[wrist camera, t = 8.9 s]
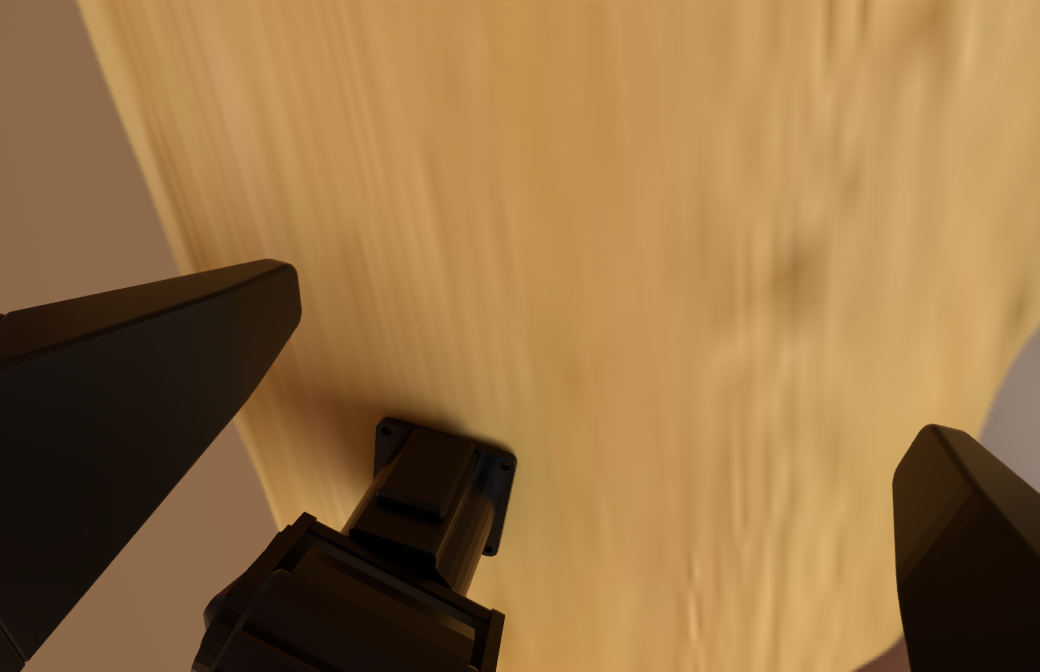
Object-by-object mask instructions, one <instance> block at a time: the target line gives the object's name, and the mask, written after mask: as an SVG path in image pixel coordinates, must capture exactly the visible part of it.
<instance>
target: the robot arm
mask: <svg viewBox="0 0 1040 672" xmlns="http://www.w3.org/2000/svg"><path fill="white" fill-rule="evenodd" d="M301 314H302V307H301V299H300V290H299V282H298V274H297V271H296V269H295V267H294V266H293V265H292V264H289V263H286V262H282V261H278V260H274V259H262V260H257V261H253V262H248V263H243V264H238V265H233V266H228V267H224V268H219V269H214V270H209V271H204V272H200V273H195V274H190V275H185V276H180V277H175V278H171V279H166V280H161V281H156V282H152V283H147V284H142V285H137V286H132V287H127V288H123V289H118V290H113V291H108V292H103V293H99V294H94V295H89V296H84V297H80V298H75V299H70V300H65V301H60V302H55V303H50V304H45V305H41V306H36V307H31V308H26V309H21V310H17V311H12V312H9V313H7V314H6V315H4V314H0V672H20V671H21V670H22V669H23V667H24V666H25V662H27V661H29V660H30V659H31V657H32V656H33V655H34V654H35V653H36V651H37V650H38V649H39V648H40V647H41V646H42V644H43V643H44V642H45V641H46V639H47V638H48V637H49V636H50V635H51V634H52V632H53V631H54V630H55V629H56V628H57V626H58V625H59V624H60V623H61V622H62V621H63V619H64V618H65V617H66V615H68V613H69V612H70V611H71V610H72V609H73V607H74V606H75V605H76V604H77V603H78V601H79V600H80V599H81V598H82V597H83V596H84V594H85V593H86V592H87V591H88V590H89V588H90V587H91V586H92V585H93V584H94V582H95V581H96V580H97V579H98V578H99V577H100V575H101V574H102V573H103V572H104V571H105V569H106V568H107V567H108V566H109V565H110V563H111V562H112V561H113V560H114V559H115V557H116V556H117V555H118V554H119V553H120V551H121V550H122V549H123V548H124V547H125V546H126V544H127V543H128V542H129V541H130V540H131V538H132V537H133V536H134V535H135V534H136V532H137V531H138V530H139V529H140V528H141V526H142V525H143V524H144V523H145V522H146V521H147V519H148V518H149V517H150V516H151V515H152V513H153V512H154V511H155V510H156V508H157V507H158V506H159V505H160V504H161V503H162V501H163V500H164V499H165V498H166V497H167V496H168V494H169V493H170V492H171V491H172V490H173V488H174V487H175V486H176V485H177V484H178V482H179V481H180V480H181V479H182V478H183V476H184V475H185V474H186V473H187V472H188V470H189V469H190V468H191V467H192V466H193V465H194V463H195V462H196V461H197V460H198V459H199V457H200V456H201V455H202V454H203V453H204V451H205V450H206V449H207V448H208V447H209V446H210V444H211V443H212V442H213V441H214V439H215V438H216V437H217V436H218V435H219V434H220V432H221V431H222V430H223V429H224V428H225V427H226V425H227V424H228V423H229V422H230V421H231V419H232V418H233V417H234V416H235V415H236V413H237V412H238V411H239V410H240V409H241V407H242V406H243V405H244V404H245V402H246V401H247V400H248V399H249V397H250V396H251V394H252V393H253V392H254V390H255V389H256V387H257V386H258V385H259V383H260V382H261V380H262V379H263V377H264V376H265V374H266V373H267V371H268V370H269V368H270V367H271V365H272V364H273V362H274V361H275V359H276V358H277V356H278V355H279V353H280V352H281V350H282V349H283V347H284V346H285V344H286V343H287V341H288V340H289V338H290V337H291V335H292V334H293V332H294V331H295V329H296V328H297V326H298V324H299V322H300V319H301ZM386 427H388V428H390V430H389V429H387V428H386ZM502 462H506V463H508V464H509V465H505V464H504V463H502ZM516 468H517V459H516V457H515V456H514V455H513V454H512V453H509V452H507V451H503V450H500V449H497V448H493V447H490V446H486V445H483V444H480V443H476V442H473V441H469V440H466V439H463V438H459V437H456V436H452V435H449V434H446V433H442V432H439V431H435V430H432V429H429V428H425V427H422V426H418V425H415V424H412V423H408V422H405V421H401V420H398V419H395V418H391V417H384V418H382V419H381V420H380V422H379V423H378V424H377V427H376V439H375V460H374V480H373V482H372V484H371V485H370V487H369V488H368V490H367V491H366V493H365V494H364V496H363V498H362V499H361V501H360V502H359V504H358V505H357V507H356V508H355V510H354V512H353V513H352V515H351V516H350V518H349V519H348V521H347V522H346V524H345V526H344V527H343V529H342V530H341V532H338V531H336V530H334V529H332V528H330V527H328V526H326V525H324V524H322V523H320V522H318V521H316V520H317V518H316V517H314V516H312V515H310V514H308V513H306V512H304V513H303V514H302V515H301V516H300V517H299V518H298V519H297V520H296V521H295V523H294V524H293V525H292V526H291V525H287V526H286V528H285V529H284V530H283V531H282V532H278V534H277V535H276V536H275V537H274V539H273V540H272V541H271V543H270V544H269V545H268V547H267V548H266V550H265V551H264V552H263V553H262V554H261V555H260V556H259V557H258V558H257V560H256V561H255V562H254V563H253V564H252V565H251V566H250V567H249V568H248V570H247V571H246V572H244V573H243V574H242V575H241V576H240V577H238V578H237V579H236V580H235V581H233V582H232V583H231V584H229V585H228V586H227V587H226V588H225V589H223V590H222V591H221V592H220V593H219V594H217V595H216V596H215V597H214V598H213V599H212V600H211V601H210V603H209V604H208V606H207V607H206V609H205V611H204V613H203V616H204V623H205V629H206V632H205V635H204V637H203V639H202V641H201V645H200V649H199V651H198V653H197V655H196V657H195V660H194V662H193V665H192V668H191V672H496V667H497V661H498V655H499V649H500V643H501V637H502V631H503V625H504V619H505V614H503V613H501V612H499V611H497V610H495V609H493V608H492V609H491V610H490V609H488V608H486V607H484V606H482V605H480V604H478V603H476V602H474V601H472V600H470V599H468V598H466V595H467V592H468V589H469V587H470V584H471V581H472V579H473V576H474V573H475V570H476V568H477V565H478V562H479V560H480V557H481V554H482V555H485V556H495V555H496V554H497V552H498V549H499V546H500V542H501V537H502V533H503V528H504V523H505V519H506V514H507V509H508V505H509V500H510V495H511V491H512V486H513V482H514V477H515V472H516ZM892 490H893V515H894V540H895V565H896V582H897V593H898V600H899V607H900V614H901V620H902V625H903V631H904V637H905V642H906V649H907V655H908V661H909V666H910V672H1040V493H1039V492H1038V491H1036V490H1035V489H1034V488H1033V487H1031V486H1030V485H1029V484H1028V483H1027V482H1026V481H1024V480H1023V479H1022V478H1021V477H1020V476H1018V475H1017V474H1016V473H1015V472H1013V471H1012V470H1011V469H1010V468H1009V467H1007V466H1006V465H1005V464H1004V463H1002V462H1001V461H1000V460H999V459H998V458H997V457H995V456H994V455H993V454H991V452H989V451H988V450H987V449H986V448H985V447H983V446H982V445H981V444H980V443H979V442H977V441H976V440H975V439H974V438H972V437H971V436H970V435H969V434H967V433H966V432H964V431H961V430H958V429H954V428H950V427H946V426H941V425H937V424H929V425H926V426H924V427H923V428H922V429H921V430H920V432H919V433H918V435H917V436H916V438H915V439H914V441H913V442H912V444H911V446H910V447H909V449H908V450H907V452H906V454H905V455H904V457H903V458H902V460H901V461H900V463H899V465H898V466H897V468H896V471H895V473H894V477H893V483H892Z"/></svg>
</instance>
